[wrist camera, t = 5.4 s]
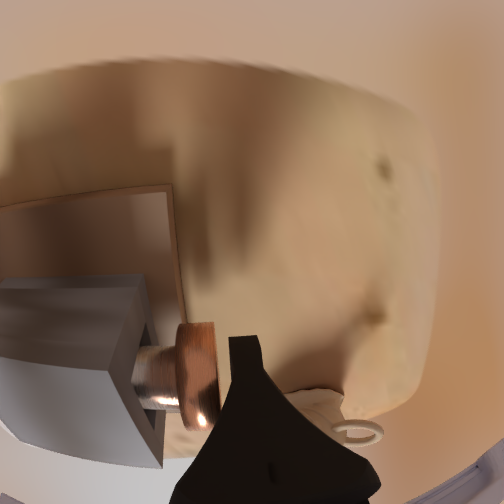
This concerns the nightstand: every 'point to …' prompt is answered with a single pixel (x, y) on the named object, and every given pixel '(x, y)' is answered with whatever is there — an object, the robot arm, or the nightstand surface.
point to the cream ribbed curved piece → (332, 416)
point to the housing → (87, 320)
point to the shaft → (182, 376)
